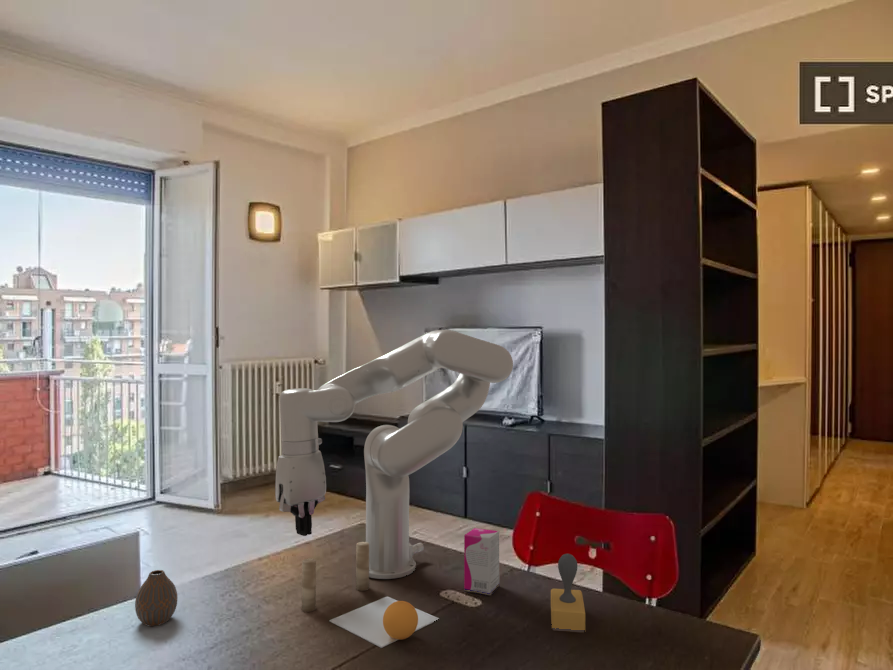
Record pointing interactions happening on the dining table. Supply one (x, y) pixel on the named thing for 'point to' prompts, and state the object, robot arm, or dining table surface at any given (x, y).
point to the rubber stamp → (567, 598)
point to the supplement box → (481, 560)
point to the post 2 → (362, 566)
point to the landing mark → (375, 622)
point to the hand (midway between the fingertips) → (304, 533)
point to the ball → (400, 620)
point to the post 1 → (308, 585)
